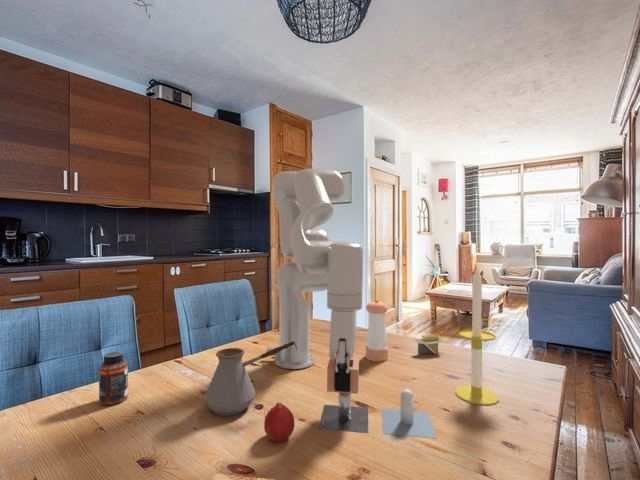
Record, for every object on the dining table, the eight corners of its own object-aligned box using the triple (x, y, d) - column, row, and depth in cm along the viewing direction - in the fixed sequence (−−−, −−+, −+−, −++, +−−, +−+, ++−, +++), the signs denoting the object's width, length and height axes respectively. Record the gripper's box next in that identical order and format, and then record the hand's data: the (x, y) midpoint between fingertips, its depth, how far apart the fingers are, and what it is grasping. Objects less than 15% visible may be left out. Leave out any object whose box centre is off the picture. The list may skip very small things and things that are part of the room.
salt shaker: (391, 356, 113) (391, 299, 113) (382, 363, 107) (383, 302, 107) (371, 352, 117) (371, 297, 117) (361, 358, 111) (362, 300, 111)
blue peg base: (383, 438, 67) (383, 399, 67) (381, 413, 77) (381, 378, 77) (436, 443, 65) (436, 402, 65) (427, 416, 75) (427, 381, 75)
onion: (265, 434, 68) (265, 394, 68) (294, 433, 69) (294, 393, 69) (262, 453, 62) (262, 409, 62) (294, 451, 63) (294, 408, 63)
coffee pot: (198, 421, 73) (198, 351, 73) (210, 396, 84) (210, 336, 84) (298, 416, 75) (298, 349, 75) (296, 393, 86) (296, 334, 86)
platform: (463, 358, 113) (463, 338, 113) (416, 364, 108) (416, 343, 108) (440, 347, 125) (440, 329, 125) (397, 352, 119) (397, 333, 119)
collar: (327, 391, 71) (327, 367, 70) (330, 378, 77) (330, 356, 77) (358, 393, 70) (358, 369, 70) (358, 380, 76) (359, 358, 76)
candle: (470, 406, 80) (470, 268, 79) (447, 388, 89) (448, 264, 89) (508, 403, 81) (509, 267, 81) (482, 385, 91) (482, 264, 91)
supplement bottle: (133, 397, 84) (133, 351, 84) (111, 408, 79) (111, 359, 78) (115, 393, 86) (115, 348, 86) (93, 404, 81) (93, 356, 80)
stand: (318, 433, 69) (318, 399, 68) (324, 409, 78) (324, 378, 78) (368, 437, 67) (368, 402, 67) (368, 412, 77) (368, 381, 77)
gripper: (331, 292, 82) (330, 366, 82) (321, 309, 65) (320, 401, 65) (362, 293, 81) (361, 368, 81) (361, 310, 64) (360, 405, 64)
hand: (343, 382), depth 73 cm, fingers closed on collar, 6 cm apart
